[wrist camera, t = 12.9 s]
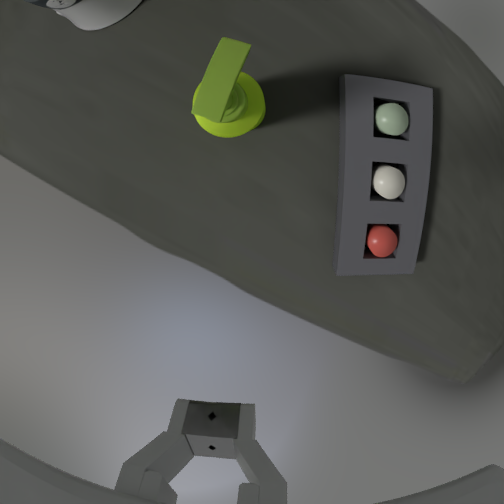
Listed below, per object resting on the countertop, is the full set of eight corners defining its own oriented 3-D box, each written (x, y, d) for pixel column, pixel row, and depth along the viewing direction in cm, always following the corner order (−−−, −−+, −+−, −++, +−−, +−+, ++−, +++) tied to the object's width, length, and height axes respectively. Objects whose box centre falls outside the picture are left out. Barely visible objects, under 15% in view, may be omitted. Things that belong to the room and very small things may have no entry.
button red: (365, 221, 38) (371, 228, 36) (391, 221, 38) (399, 229, 35) (362, 248, 40) (368, 257, 37) (387, 247, 40) (394, 257, 37)
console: (338, 77, 31) (344, 73, 28) (422, 89, 30) (432, 88, 28) (332, 265, 42) (336, 275, 39) (405, 264, 41) (413, 273, 39)
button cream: (369, 162, 35) (377, 166, 32) (396, 164, 35) (406, 168, 32) (367, 192, 37) (375, 198, 34) (394, 193, 36) (403, 199, 34)
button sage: (370, 102, 32) (379, 101, 29) (398, 105, 31) (408, 105, 29) (370, 132, 33) (378, 133, 30) (398, 135, 33) (408, 137, 30)
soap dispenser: (275, 88, 32) (283, 53, 14) (255, 138, 35) (242, 157, 17) (230, 73, 32) (190, 27, 14) (211, 123, 35) (152, 128, 16)
